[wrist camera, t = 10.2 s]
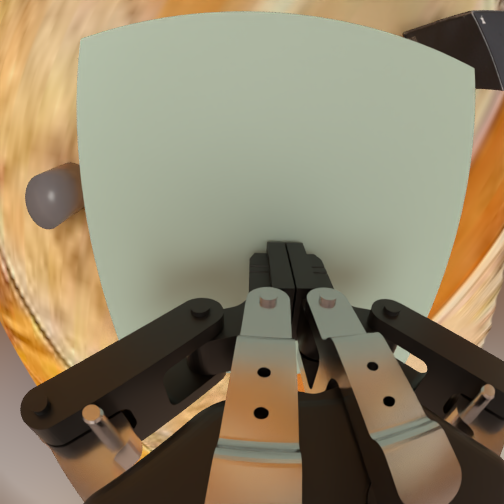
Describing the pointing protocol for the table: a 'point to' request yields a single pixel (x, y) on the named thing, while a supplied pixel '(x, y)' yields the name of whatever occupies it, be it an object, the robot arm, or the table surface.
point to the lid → (269, 157)
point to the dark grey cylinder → (55, 195)
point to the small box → (469, 43)
